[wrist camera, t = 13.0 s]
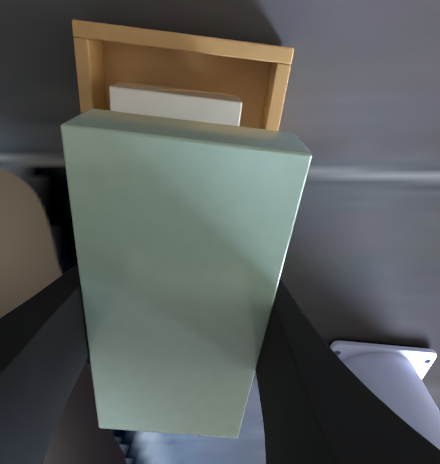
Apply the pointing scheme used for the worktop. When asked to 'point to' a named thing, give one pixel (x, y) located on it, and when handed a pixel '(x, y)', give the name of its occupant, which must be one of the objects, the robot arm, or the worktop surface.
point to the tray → (181, 67)
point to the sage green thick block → (178, 261)
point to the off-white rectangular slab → (175, 103)
